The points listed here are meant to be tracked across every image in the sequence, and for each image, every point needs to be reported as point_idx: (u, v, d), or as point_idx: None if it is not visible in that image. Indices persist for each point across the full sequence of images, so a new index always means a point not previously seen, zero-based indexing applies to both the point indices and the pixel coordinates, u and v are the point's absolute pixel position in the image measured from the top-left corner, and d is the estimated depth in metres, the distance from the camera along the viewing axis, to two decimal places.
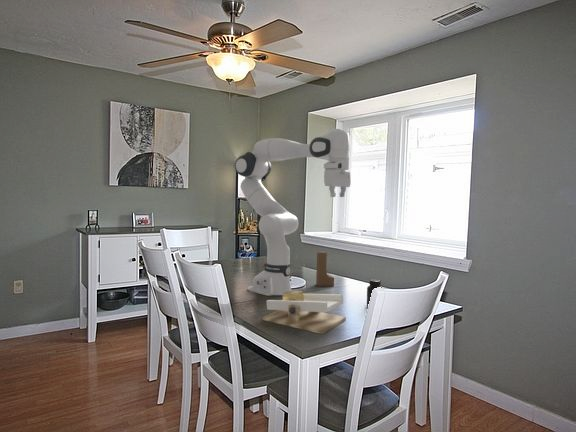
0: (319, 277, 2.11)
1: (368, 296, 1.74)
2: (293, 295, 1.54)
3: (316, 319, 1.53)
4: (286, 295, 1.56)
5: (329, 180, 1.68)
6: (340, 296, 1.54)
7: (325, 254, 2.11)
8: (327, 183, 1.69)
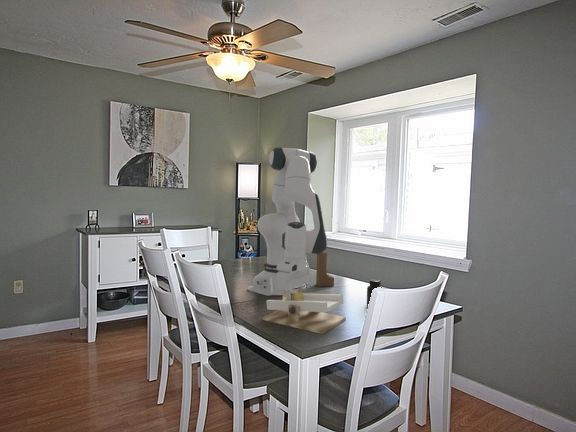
0: (319, 277, 2.11)
1: (368, 296, 1.74)
2: (293, 295, 1.54)
3: (316, 319, 1.53)
4: None
5: (282, 285, 1.48)
6: (340, 296, 1.54)
7: (325, 254, 2.11)
8: (280, 288, 1.49)
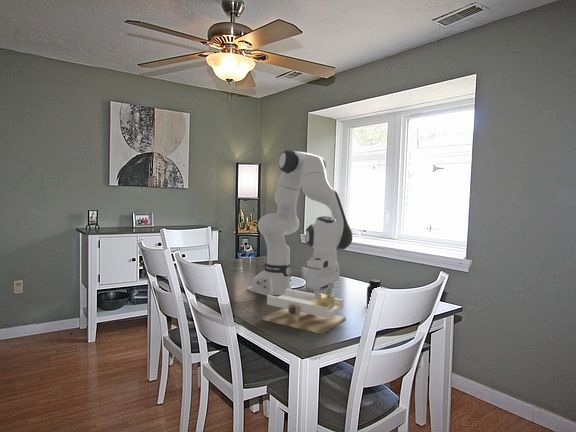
0: None
1: (368, 296, 1.74)
2: (325, 300, 1.47)
3: (316, 319, 1.53)
4: None
5: (313, 282, 1.41)
6: (341, 301, 1.53)
7: None
8: (310, 286, 1.42)
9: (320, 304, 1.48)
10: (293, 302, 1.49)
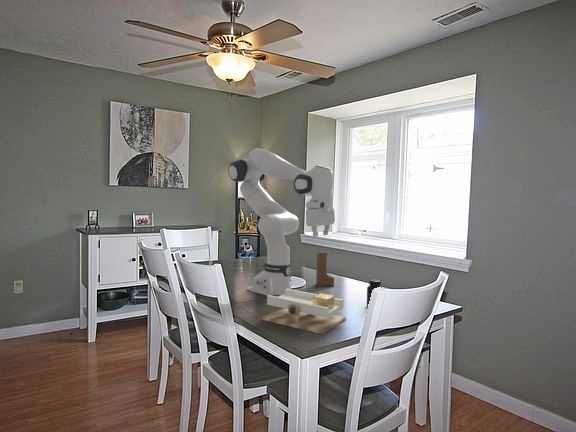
0: (319, 277, 2.11)
1: (368, 296, 1.74)
2: (325, 300, 1.47)
3: (316, 319, 1.53)
4: (317, 299, 1.49)
5: (311, 220, 1.62)
6: (341, 301, 1.53)
7: (325, 254, 2.11)
8: (309, 223, 1.63)
9: (320, 304, 1.48)
10: (293, 302, 1.49)
